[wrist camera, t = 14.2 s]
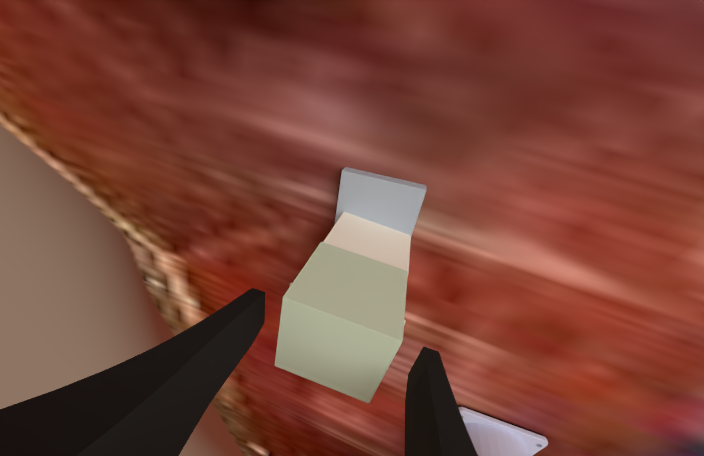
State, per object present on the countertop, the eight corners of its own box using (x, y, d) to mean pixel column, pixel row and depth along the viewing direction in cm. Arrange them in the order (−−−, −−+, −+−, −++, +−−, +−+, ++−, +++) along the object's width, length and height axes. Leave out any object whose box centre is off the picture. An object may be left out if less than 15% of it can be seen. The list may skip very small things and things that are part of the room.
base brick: (389, 297, 20) (386, 311, 19) (331, 280, 21) (325, 292, 20) (426, 182, 15) (426, 189, 14) (348, 164, 16) (342, 170, 15)
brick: (387, 286, 18) (379, 331, 14) (329, 264, 18) (307, 303, 15) (410, 235, 16) (408, 274, 12) (343, 211, 16) (322, 242, 12)
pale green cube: (381, 329, 14) (368, 403, 11) (308, 303, 15) (274, 365, 11) (407, 271, 12) (402, 340, 9) (321, 241, 12) (283, 296, 9)
